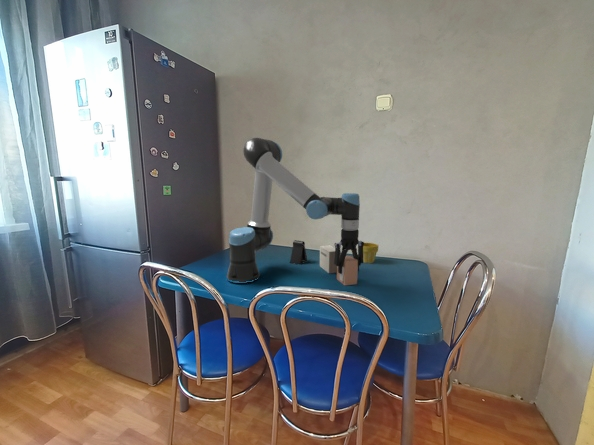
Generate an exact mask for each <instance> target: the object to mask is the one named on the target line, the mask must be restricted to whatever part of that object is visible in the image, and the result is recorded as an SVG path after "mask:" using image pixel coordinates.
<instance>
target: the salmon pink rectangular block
mask: <svg viewBox="0 0 594 445" xmlns="http://www.w3.org/2000/svg"><path fill="white" fill-rule="evenodd" d="M343 267H344V281H341V280H340V274H339V273H338V266H337V273H336V280H337V281H338V282H339V283H341V284H342V285H343V286H351V285H352V286H353V285H358V274H357V268H358V260H357V259H355V258H353V256H351V255H347V254H346V257H345V260H344V263H343Z"/></svg>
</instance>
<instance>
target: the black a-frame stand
mask: <svg viewBox="0 0 594 445" xmlns="http://www.w3.org/2000/svg"><path fill="white" fill-rule="evenodd" d="M305 244H306V243H305V241H302V240H295V239H294V240H293V241H292V249H291V254H290V259H289V260H290V261H289V263H290V264H293V263H295V265H298V264H300V265H302V264H304V263H306V262H308V256H307V250H306V246H305ZM305 261H306V262H305ZM303 262H304V263H303ZM301 263H302V264H301Z"/></svg>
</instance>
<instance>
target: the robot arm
mask: <svg viewBox="0 0 594 445" xmlns="http://www.w3.org/2000/svg"><path fill="white" fill-rule="evenodd" d="M242 151H243V156H244V158H245V161H247V163H249V164H250V165H251V166H252V169H253V170H254V171H255V172H254V183H253V192H252V194H253V195H252V204H251V215H250V220H249V221H248V222H247V225H246V226H243V227H237V228H234V229H232V230H231V231H230V232H229V236H228V245H229V247H228V248H229V266H228V270H227V274H226V279H227V278H228V279H229V280H232V281H239V282H246V281H252V280H255V279H257V278H259V276H261V275H260V273H261V272H260V271H259V267H258V265H257V262H256V253H257V252H259V251H261V250H263V249H266V248H268V246H270V245H271V243H272V242H273V239H274V233H273V231H272V228H271V227H272V225H271V223H270V222H269V218H270V217H269V216H270V208H271V207H270V205H271V197H272V189H273V188H272V187H273V183H274V184H276V185H278V187H279V188H281V189H282V190H283V191H284V192H285V193H286V194H287V195H288V196H290V197H291V199H294V201H295V202H296V203H297V204H298V205H300V206H301V207H302V208H303V209H305V211H306V214H307V216H308V217H309V218H310V219H311V220H321V219H324V218H325V217H327V216H329V215H334V216H340V215H341V222H340V223H341V225H340V228H341V230H340V241H339V242H335V243H334V248H335V259H334V264H335V265H336V266H338V273H339V274H340V280H341V281H344V267H343V263H344V260H345V257H346V256H347V253H349V251H351V253H352V257H353V258H355V259H357V260H358V268H357V275H358V272H360V266H361V265H362V264H364V262H363V246H364V243H365V241H362V240H359V234H360V233H359V232H360V230H359V228H360V227H359V226H360V205H361V204H360V203H361V202H360V201H361V200H360V195H359V193H354V192H353V193H352V192H349V193H348V192H345V193H342V194H341V197H329V196H328V197H327V196H326V197H325V196H322V197H321V196H319V195H317V193H315V192H314V191H313V190H312V189H311V188H310V187H309V186H308V185H306V184H305V183H304V182H303V181H302V180H300V179H299V178H298V176H296V175H294V173H293V172H291V171H290V170H289V169H288V168H286V167H285V166H284V165H282V163H281V162H282V158H283V151H282V149H281V146H280V145H279V144H278V143H277V142H275V141H273V140H271V139H265V138H262V137H261V138H260V137H252V138H250V139H248V140H247V141H246V143H245V144H244V146H243V150H242ZM340 251H341V255H340ZM259 279H260V278H259Z"/></svg>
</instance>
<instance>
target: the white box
mask: <svg viewBox="0 0 594 445" xmlns="http://www.w3.org/2000/svg"><path fill="white" fill-rule="evenodd" d="M341 252H342V250H340V255H341ZM334 259H335V246H332V245H330V244H329V245H320V246H319V267H320V269H321V268H322V269H323V270H324V271H325V272H327V273H328V274H337V266H336V265H335V264H334Z"/></svg>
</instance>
